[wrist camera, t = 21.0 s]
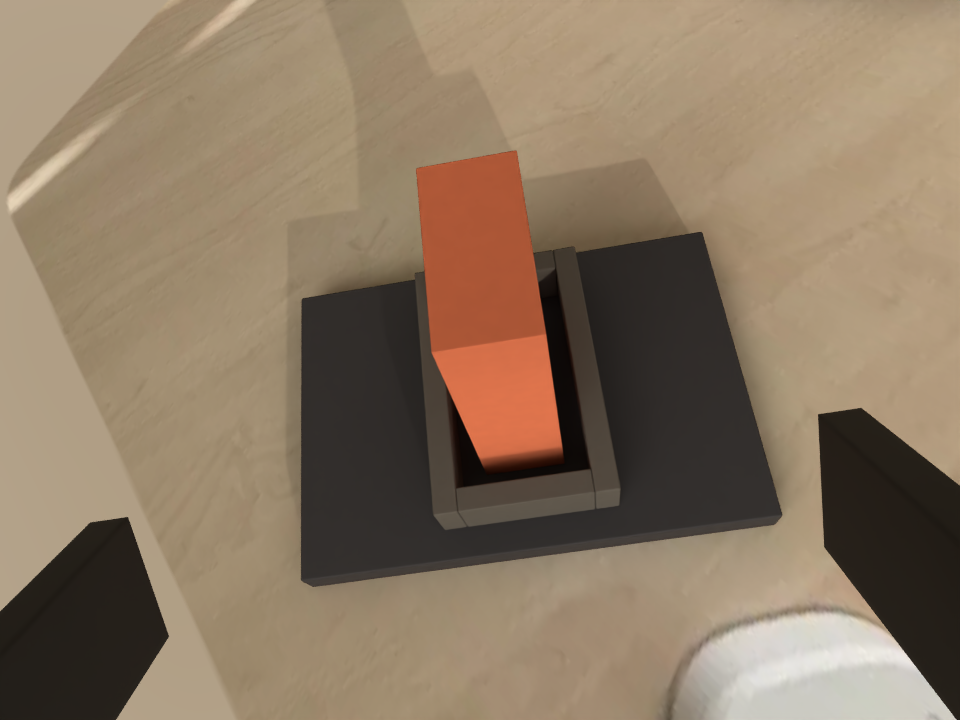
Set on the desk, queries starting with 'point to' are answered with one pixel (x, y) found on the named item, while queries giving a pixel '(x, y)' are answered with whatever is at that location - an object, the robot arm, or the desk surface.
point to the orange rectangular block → (488, 310)
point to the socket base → (581, 413)
